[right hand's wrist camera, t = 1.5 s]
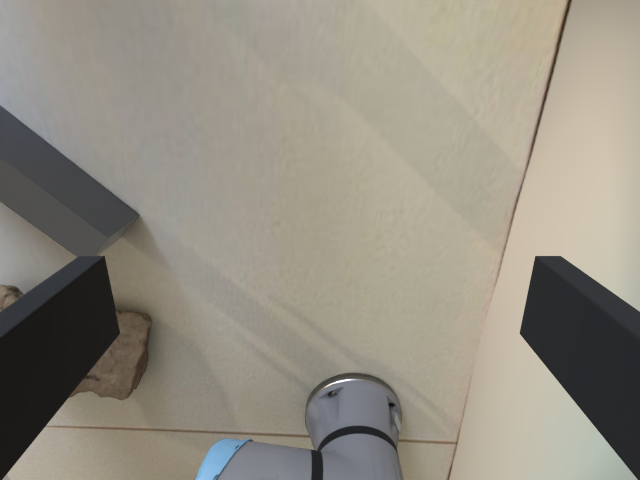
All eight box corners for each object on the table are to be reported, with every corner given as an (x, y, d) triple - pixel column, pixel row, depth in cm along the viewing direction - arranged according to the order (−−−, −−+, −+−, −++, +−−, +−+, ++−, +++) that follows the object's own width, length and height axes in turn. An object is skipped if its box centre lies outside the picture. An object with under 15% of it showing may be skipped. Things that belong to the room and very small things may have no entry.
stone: (-10, 374, 59) (-36, 397, 54) (4, 278, 57) (-21, 291, 51) (142, 390, 65) (134, 413, 59) (160, 302, 63) (153, 317, 57)
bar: (139, 214, 54) (108, 238, 46) (121, 237, 55) (87, 264, 47) (-50, 66, 47) (-125, 64, 39) (-66, 96, 48) (-143, 99, 40)
